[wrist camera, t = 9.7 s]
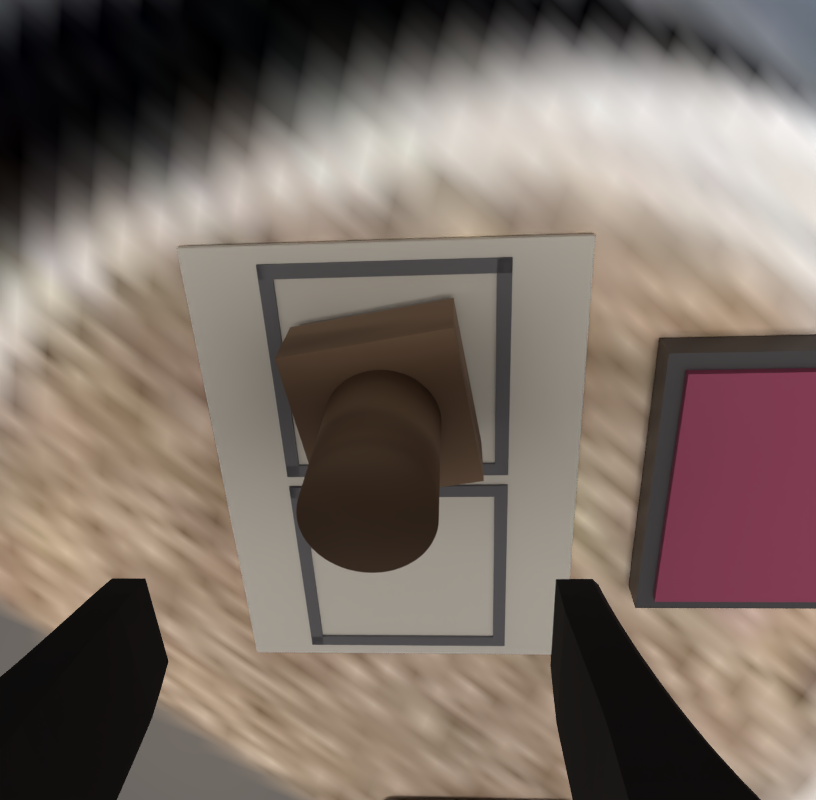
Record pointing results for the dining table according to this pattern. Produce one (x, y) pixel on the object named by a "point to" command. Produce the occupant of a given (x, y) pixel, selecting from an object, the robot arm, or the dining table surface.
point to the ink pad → (729, 476)
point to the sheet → (458, 504)
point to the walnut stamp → (380, 430)
